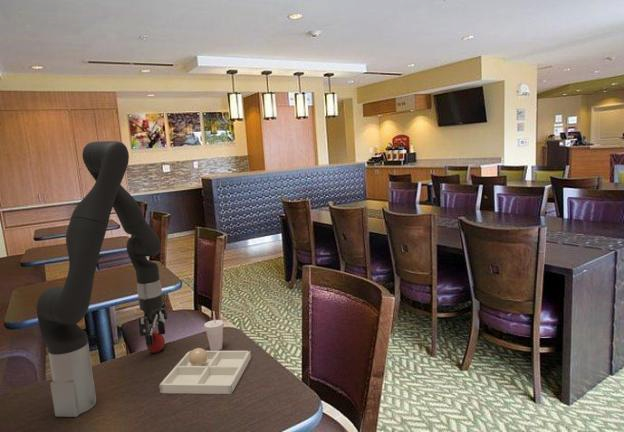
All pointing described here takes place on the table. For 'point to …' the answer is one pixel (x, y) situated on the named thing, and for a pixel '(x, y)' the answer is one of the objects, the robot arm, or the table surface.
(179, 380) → the tray
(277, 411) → the table surface
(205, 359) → the beige ball
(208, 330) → the smoothie
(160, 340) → the onion
